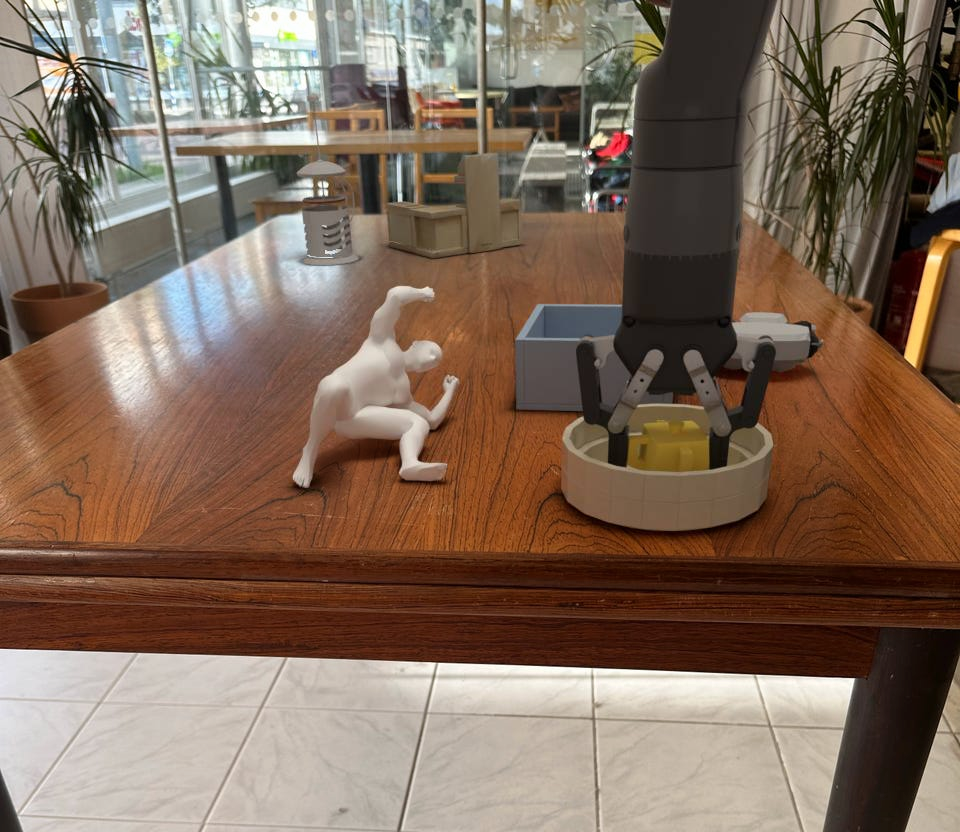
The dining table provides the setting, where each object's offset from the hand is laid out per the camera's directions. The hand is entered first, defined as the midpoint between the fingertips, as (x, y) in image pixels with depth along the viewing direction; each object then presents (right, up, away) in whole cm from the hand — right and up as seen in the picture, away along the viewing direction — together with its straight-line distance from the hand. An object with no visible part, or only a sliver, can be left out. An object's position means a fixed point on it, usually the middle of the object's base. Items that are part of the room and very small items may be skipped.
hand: (665, 477), depth 71 cm
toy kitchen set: (-18, +59, +99) cm, 116 cm away
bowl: (0, -1, +1) cm, 1 cm away
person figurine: (-22, +4, +11) cm, 25 cm away
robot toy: (+16, +17, +30) cm, 38 cm away
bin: (-2, +13, +24) cm, 27 cm away
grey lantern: (-39, +54, +92) cm, 114 cm away
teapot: (0, -1, +1) cm, 1 cm away
